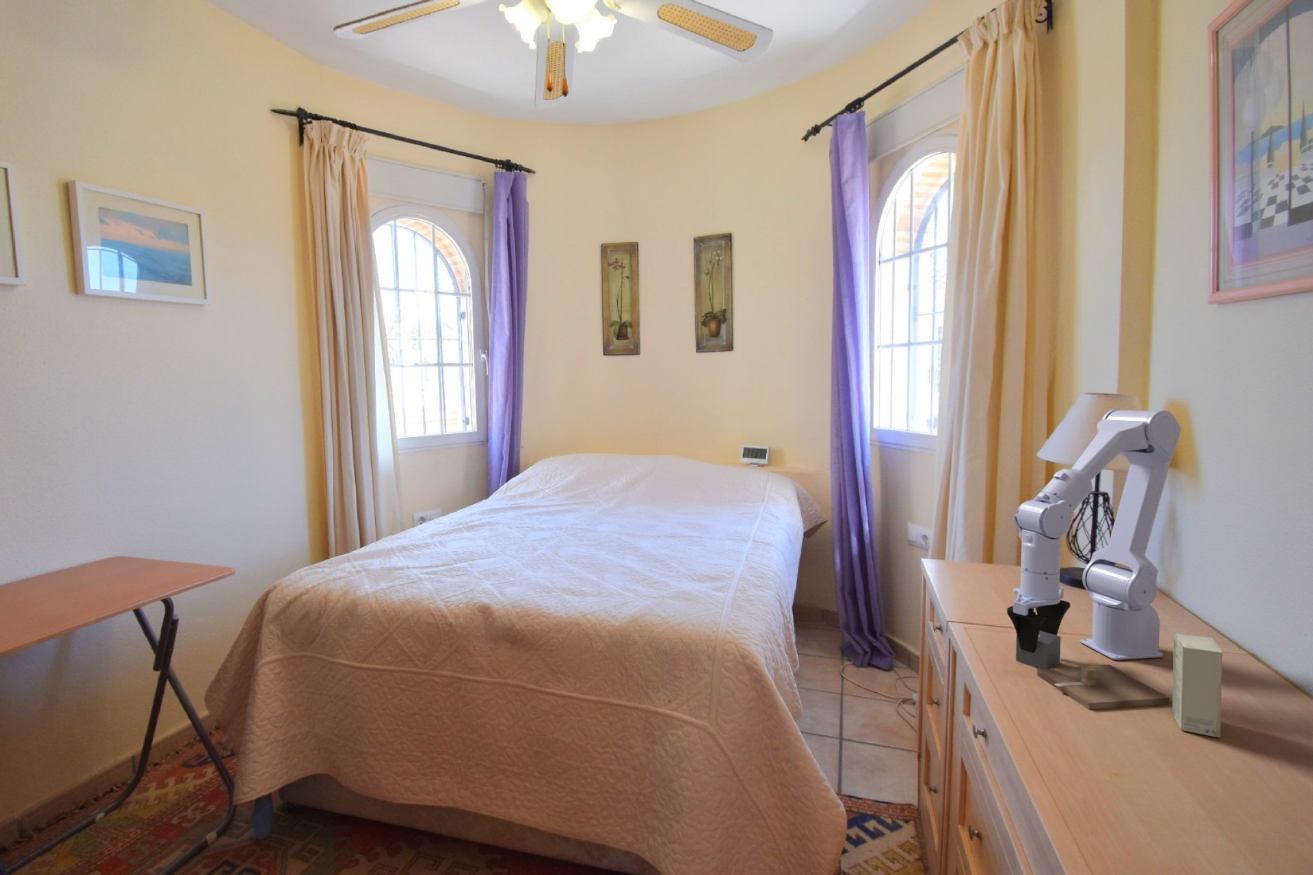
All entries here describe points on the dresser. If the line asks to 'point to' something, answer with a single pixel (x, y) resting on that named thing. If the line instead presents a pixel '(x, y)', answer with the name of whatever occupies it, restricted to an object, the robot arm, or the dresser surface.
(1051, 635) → the mini file drawer
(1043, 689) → the dresser surface
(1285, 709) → the dresser surface
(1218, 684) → the skincare box
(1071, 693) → the board
